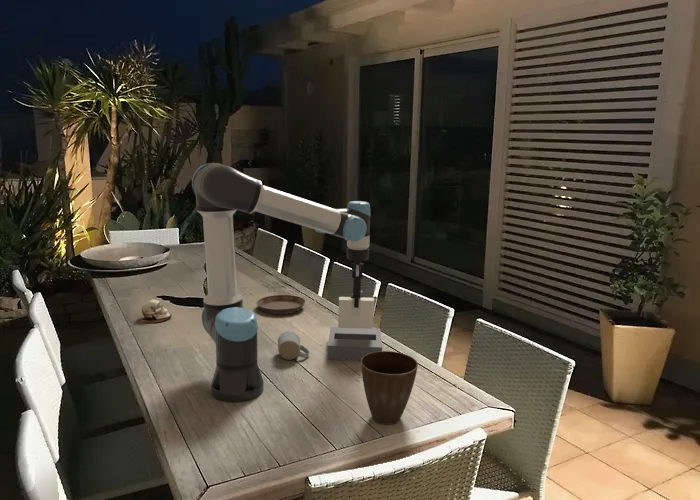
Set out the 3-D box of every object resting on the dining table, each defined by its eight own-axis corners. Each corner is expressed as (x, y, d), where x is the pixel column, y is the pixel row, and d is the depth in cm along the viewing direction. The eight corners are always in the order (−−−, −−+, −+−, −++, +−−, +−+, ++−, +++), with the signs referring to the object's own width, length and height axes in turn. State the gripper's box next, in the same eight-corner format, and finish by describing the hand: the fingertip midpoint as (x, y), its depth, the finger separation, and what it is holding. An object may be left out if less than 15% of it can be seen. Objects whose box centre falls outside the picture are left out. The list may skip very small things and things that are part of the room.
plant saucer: (249, 313, 229) (248, 305, 228) (267, 299, 248) (267, 292, 248) (296, 318, 224) (296, 310, 224) (311, 304, 244) (311, 296, 243)
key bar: (372, 325, 193) (373, 297, 191) (373, 328, 189) (374, 300, 187) (338, 324, 193) (339, 296, 191) (338, 327, 189) (338, 299, 187)
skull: (176, 310, 226) (170, 298, 218) (170, 333, 220) (163, 321, 212) (148, 308, 226) (140, 295, 218) (140, 331, 220) (132, 318, 212)
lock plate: (381, 361, 184) (382, 347, 183) (327, 359, 184) (327, 345, 183) (379, 341, 202) (380, 328, 201) (330, 339, 202) (330, 326, 201)
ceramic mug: (278, 361, 182) (278, 339, 180) (277, 352, 189) (277, 330, 188) (310, 361, 183) (310, 339, 182) (308, 351, 191) (309, 330, 190)
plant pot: (410, 404, 155) (413, 351, 152) (418, 432, 141) (422, 374, 137) (357, 404, 155) (359, 350, 151) (360, 432, 140) (362, 373, 137)
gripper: (347, 242, 193) (345, 306, 198) (346, 252, 177) (344, 321, 182) (368, 242, 193) (366, 306, 198) (369, 253, 177) (367, 322, 182)
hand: (356, 313), depth 190 cm, fingers closed on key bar, 3 cm apart
